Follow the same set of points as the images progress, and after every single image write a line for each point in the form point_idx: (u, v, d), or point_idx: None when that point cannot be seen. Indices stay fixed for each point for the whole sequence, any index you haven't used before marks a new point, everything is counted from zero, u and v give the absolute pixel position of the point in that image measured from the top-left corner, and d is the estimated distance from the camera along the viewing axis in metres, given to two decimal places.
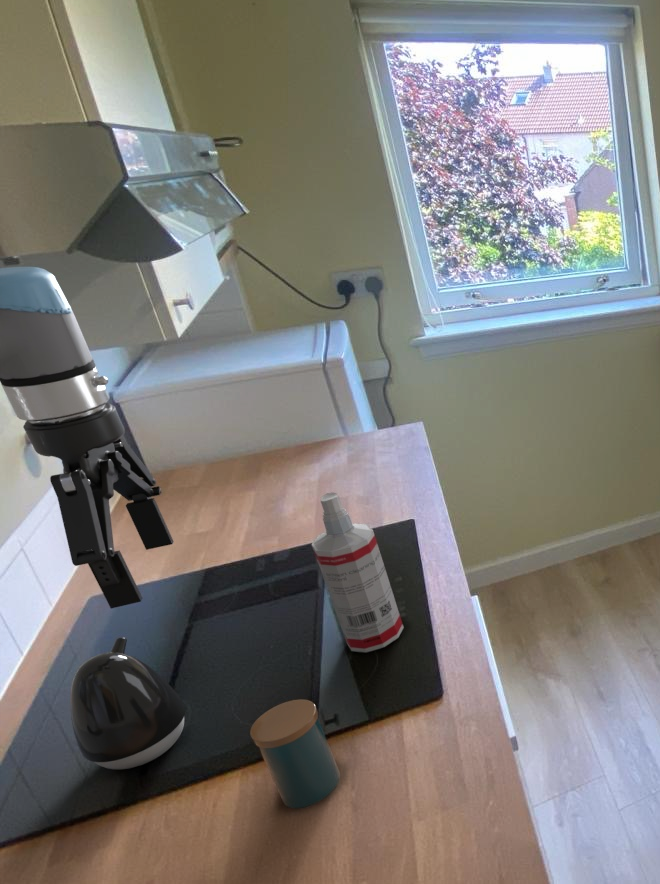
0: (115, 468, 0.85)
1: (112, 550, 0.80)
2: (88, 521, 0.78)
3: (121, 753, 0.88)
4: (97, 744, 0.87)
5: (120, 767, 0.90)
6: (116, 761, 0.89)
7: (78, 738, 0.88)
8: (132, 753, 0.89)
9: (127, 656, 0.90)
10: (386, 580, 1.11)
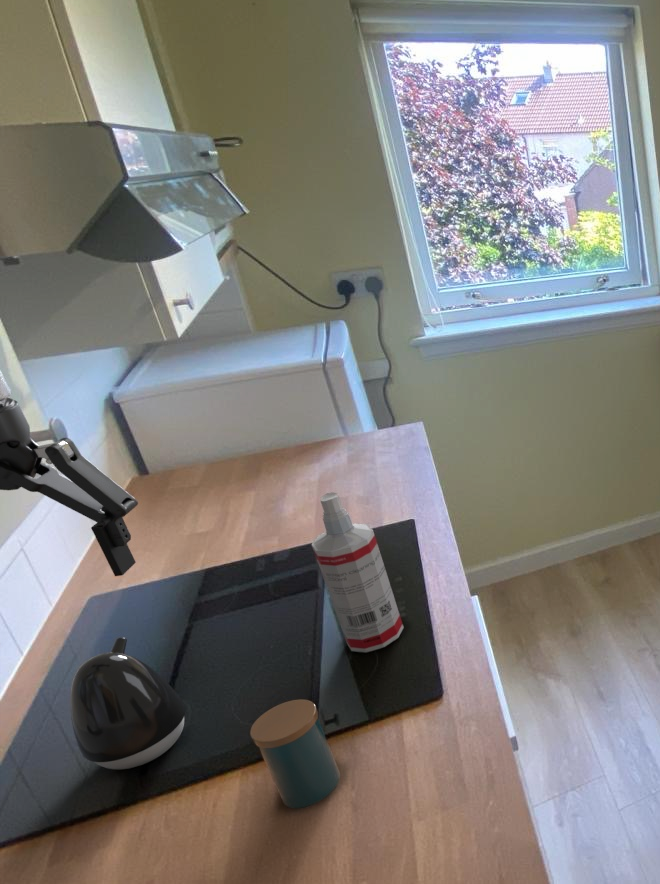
0: None
1: None
2: (104, 477, 0.81)
3: (121, 753, 0.88)
4: (97, 744, 0.87)
5: (120, 767, 0.90)
6: (116, 761, 0.89)
7: (78, 738, 0.88)
8: (132, 753, 0.89)
9: (127, 656, 0.90)
10: (386, 580, 1.11)
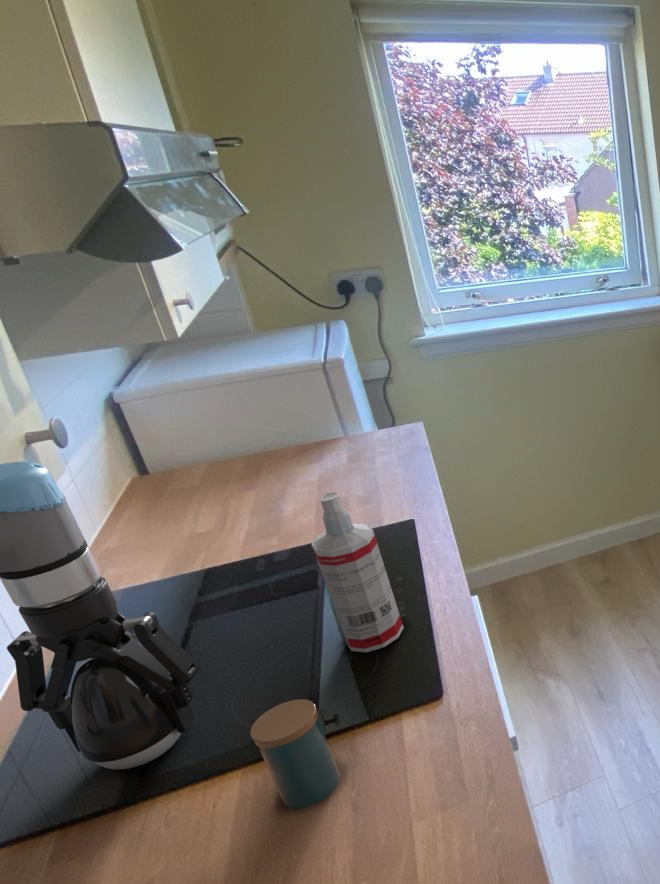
0: None
1: None
2: (176, 646, 0.91)
3: (121, 753, 0.88)
4: (97, 744, 0.87)
5: (120, 767, 0.90)
6: (116, 761, 0.89)
7: (78, 738, 0.88)
8: (132, 753, 0.89)
9: None
10: (386, 580, 1.11)
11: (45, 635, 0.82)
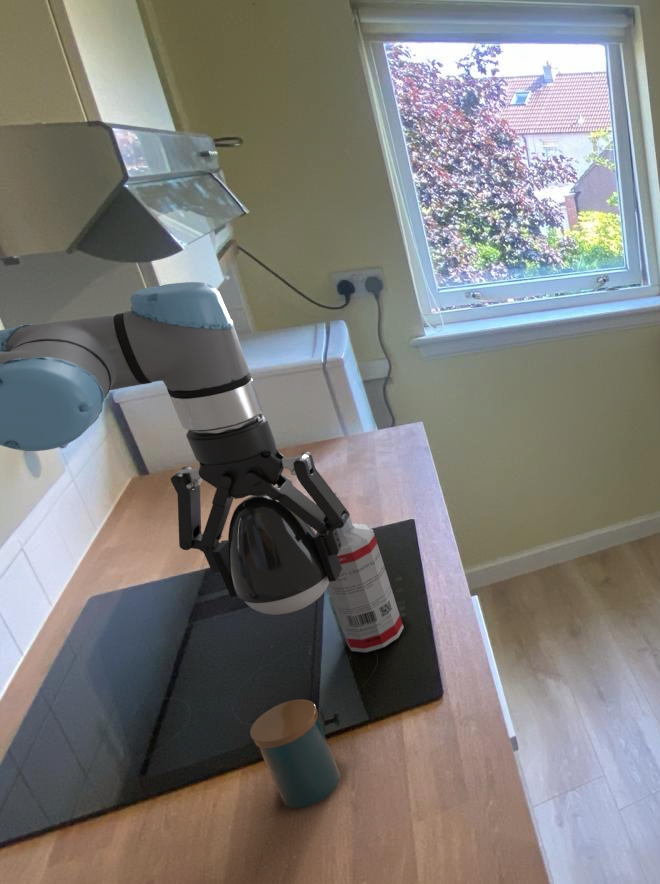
0: None
1: None
2: (330, 490, 0.90)
3: (278, 593, 0.87)
4: (256, 583, 0.86)
5: (275, 610, 0.89)
6: (272, 603, 0.88)
7: (236, 577, 0.86)
8: (288, 595, 0.88)
9: None
10: (386, 580, 1.11)
11: (213, 462, 0.81)
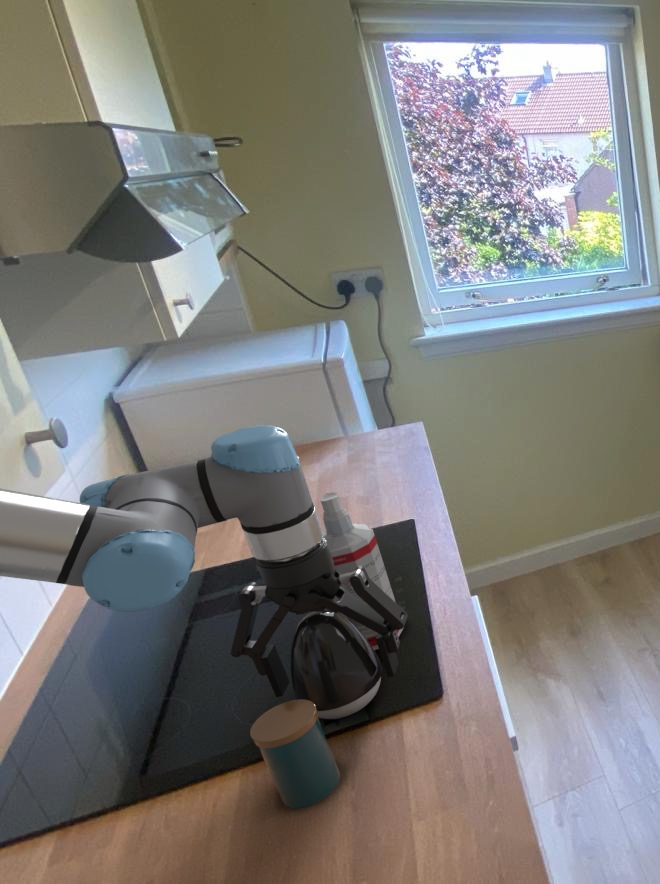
0: None
1: None
2: (386, 596, 0.97)
3: (336, 702, 0.95)
4: (317, 694, 0.94)
5: (333, 716, 0.96)
6: (330, 710, 0.96)
7: (299, 688, 0.94)
8: (345, 703, 0.96)
9: (338, 613, 0.97)
10: (386, 580, 1.11)
11: (280, 587, 0.89)
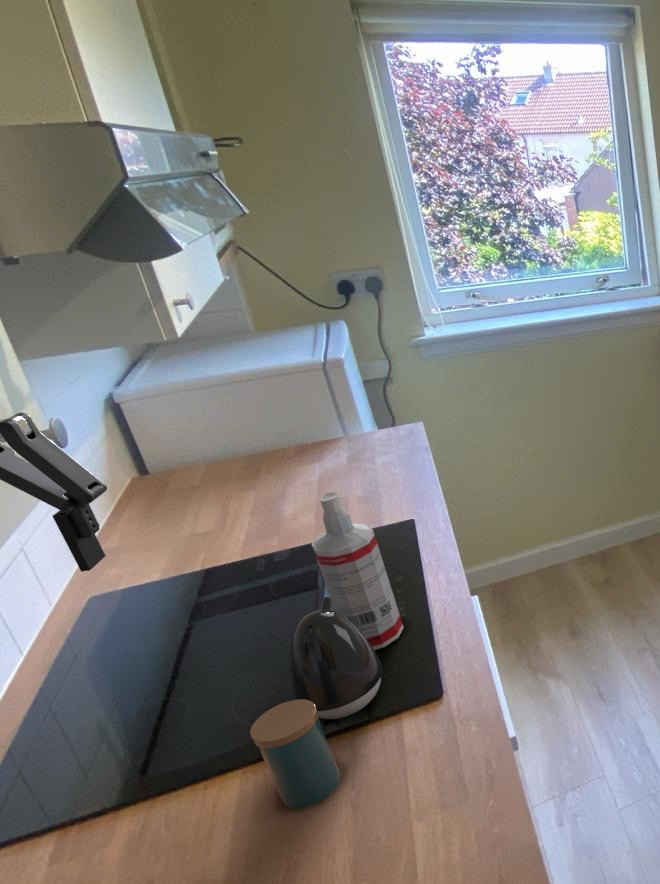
0: None
1: None
2: (68, 458, 0.71)
3: (336, 702, 0.95)
4: (317, 694, 0.94)
5: (333, 716, 0.96)
6: (330, 710, 0.96)
7: (299, 688, 0.94)
8: (345, 703, 0.96)
9: (338, 613, 0.97)
10: (386, 580, 1.11)
11: None
